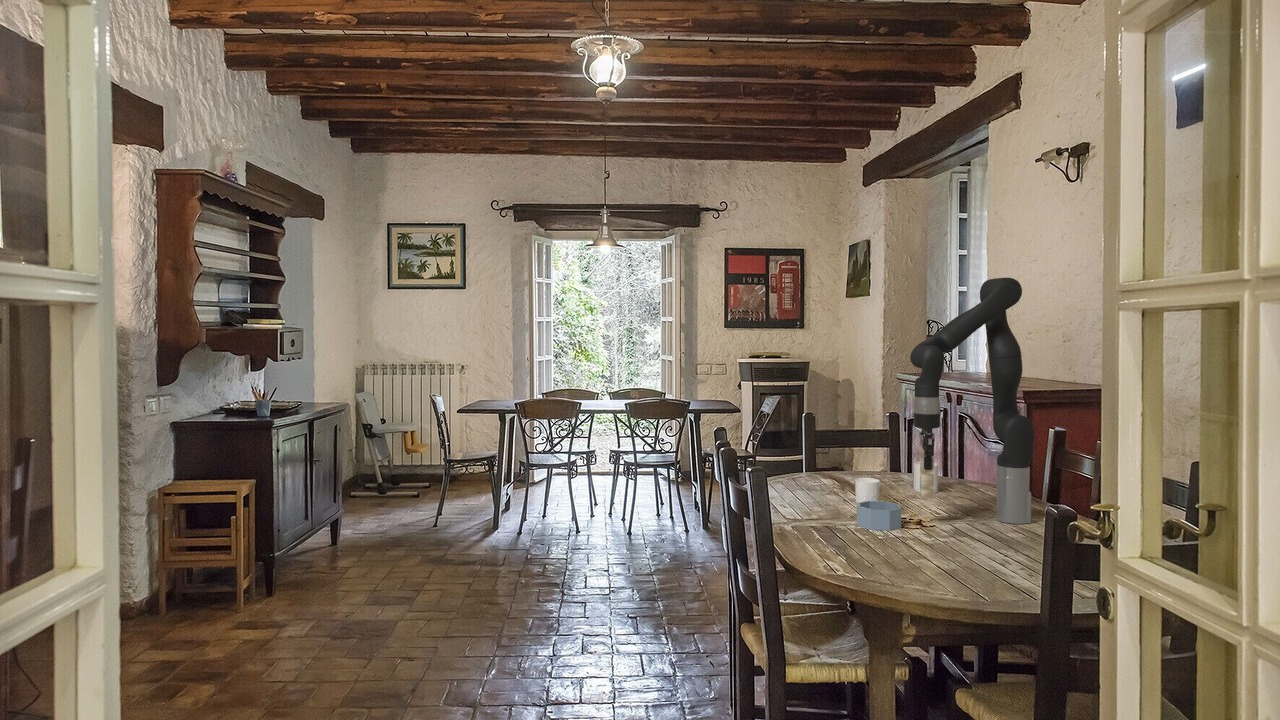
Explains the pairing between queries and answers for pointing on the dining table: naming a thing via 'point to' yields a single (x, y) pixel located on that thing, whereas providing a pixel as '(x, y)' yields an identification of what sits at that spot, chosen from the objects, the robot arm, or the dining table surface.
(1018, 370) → the robot arm
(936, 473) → the mug
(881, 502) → the blue octagonal holder
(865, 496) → the white cup
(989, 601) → the dining table surface
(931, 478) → the tan square peg
